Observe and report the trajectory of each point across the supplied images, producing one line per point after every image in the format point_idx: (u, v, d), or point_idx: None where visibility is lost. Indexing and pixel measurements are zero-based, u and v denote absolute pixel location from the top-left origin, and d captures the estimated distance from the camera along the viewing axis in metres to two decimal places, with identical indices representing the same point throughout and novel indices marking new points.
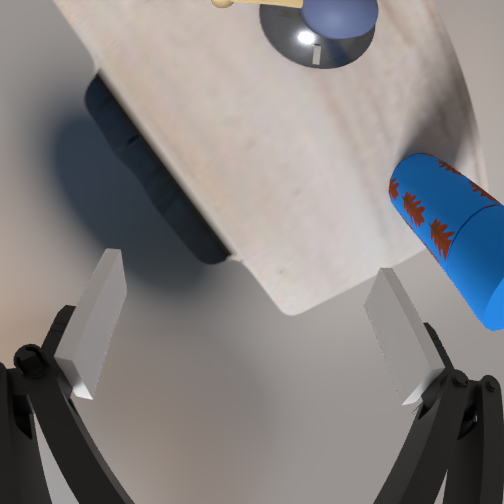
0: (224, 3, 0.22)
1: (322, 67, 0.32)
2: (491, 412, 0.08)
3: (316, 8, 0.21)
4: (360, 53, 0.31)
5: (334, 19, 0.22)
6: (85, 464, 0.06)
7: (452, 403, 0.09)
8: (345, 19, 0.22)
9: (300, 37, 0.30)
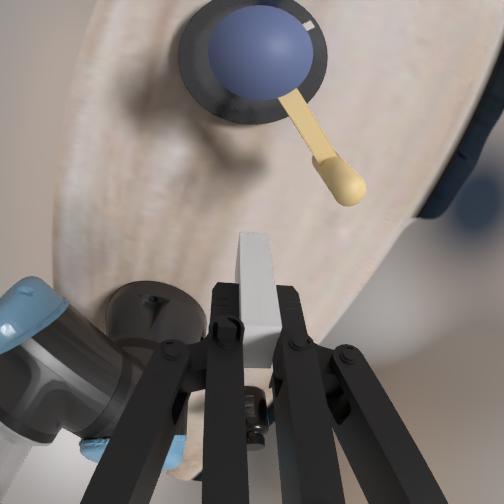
0: None
1: (309, 15, 0.23)
2: (363, 388, 0.09)
3: (294, 73, 0.19)
4: None
5: (291, 47, 0.18)
6: (232, 442, 0.08)
7: (302, 372, 0.10)
8: (279, 37, 0.17)
9: None
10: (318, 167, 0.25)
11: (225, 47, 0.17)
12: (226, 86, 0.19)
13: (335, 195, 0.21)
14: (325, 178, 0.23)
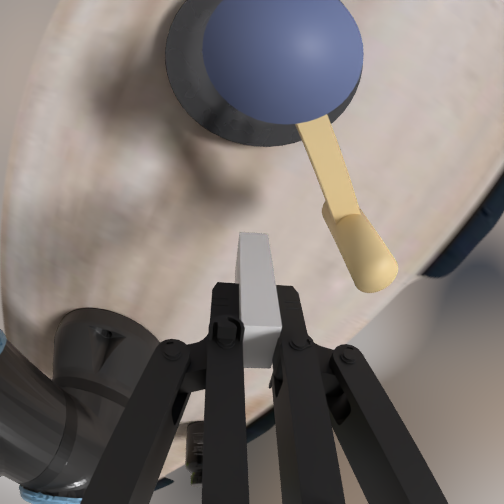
0: (366, 217, 0.18)
1: None
2: (363, 388, 0.09)
3: (330, 90, 0.12)
4: None
5: (332, 50, 0.11)
6: (232, 442, 0.08)
7: (302, 372, 0.10)
8: (317, 31, 0.11)
9: None
10: (332, 224, 0.18)
11: (231, 33, 0.11)
12: (223, 94, 0.12)
13: (355, 278, 0.15)
14: (342, 246, 0.17)
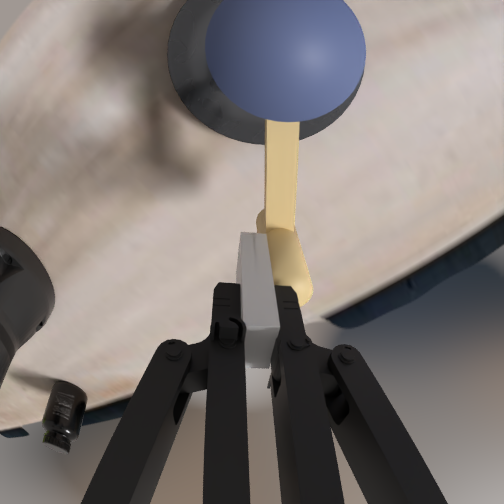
0: None
1: None
2: (362, 388, 0.09)
3: (312, 101, 0.13)
4: None
5: (331, 66, 0.12)
6: (233, 442, 0.08)
7: (301, 372, 0.10)
8: (325, 43, 0.11)
9: None
10: (262, 231, 0.19)
11: (245, 13, 0.10)
12: (210, 64, 0.12)
13: None
14: None
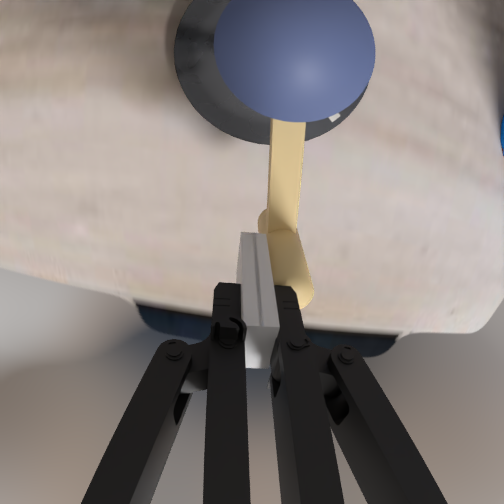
0: None
1: (346, 114, 0.21)
2: (361, 388, 0.09)
3: (319, 102, 0.12)
4: None
5: (340, 67, 0.12)
6: (233, 442, 0.08)
7: (300, 372, 0.10)
8: (335, 44, 0.11)
9: None
10: (263, 231, 0.18)
11: (255, 10, 0.10)
12: (218, 61, 0.11)
13: None
14: None
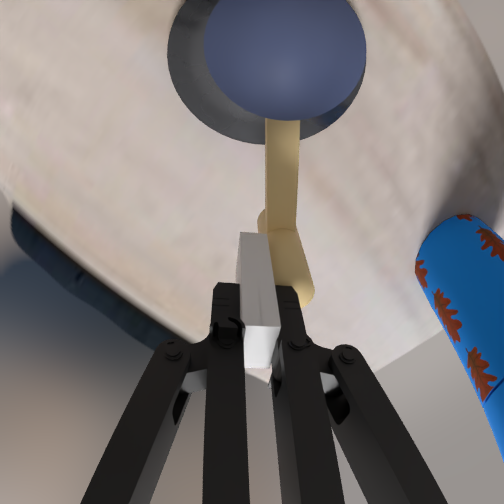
0: (299, 237, 0.19)
1: None
2: (362, 388, 0.09)
3: (312, 99, 0.12)
4: (349, 99, 0.20)
5: (331, 63, 0.11)
6: (232, 442, 0.08)
7: (301, 372, 0.10)
8: (325, 40, 0.11)
9: None
10: (263, 231, 0.18)
11: (244, 11, 0.10)
12: (209, 63, 0.11)
13: None
14: None
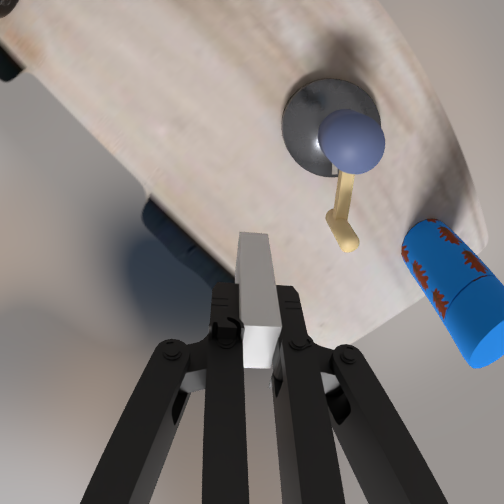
0: None
1: None
2: (363, 388, 0.09)
3: (362, 166, 0.33)
4: None
5: (371, 152, 0.32)
6: (232, 442, 0.08)
7: (302, 372, 0.10)
8: (370, 143, 0.32)
9: (319, 152, 0.41)
10: (332, 219, 0.39)
11: (343, 129, 0.31)
12: (327, 149, 0.32)
13: (341, 241, 0.35)
14: (337, 228, 0.37)
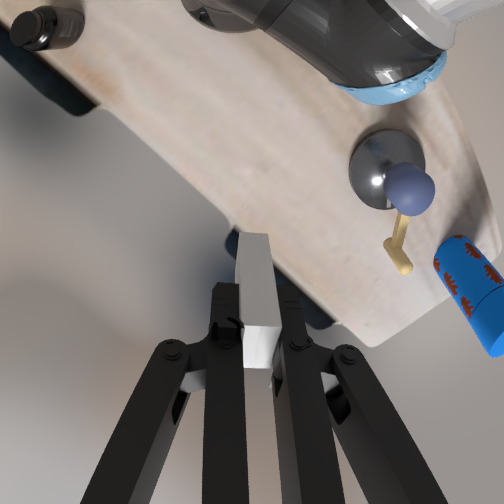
0: None
1: (392, 207, 0.51)
2: (363, 388, 0.09)
3: (417, 210, 0.41)
4: None
5: (424, 199, 0.40)
6: (232, 442, 0.08)
7: (302, 372, 0.10)
8: (424, 193, 0.40)
9: (378, 191, 0.49)
10: (390, 248, 0.47)
11: (406, 184, 0.39)
12: (394, 199, 0.40)
13: (400, 267, 0.44)
14: (395, 256, 0.45)
